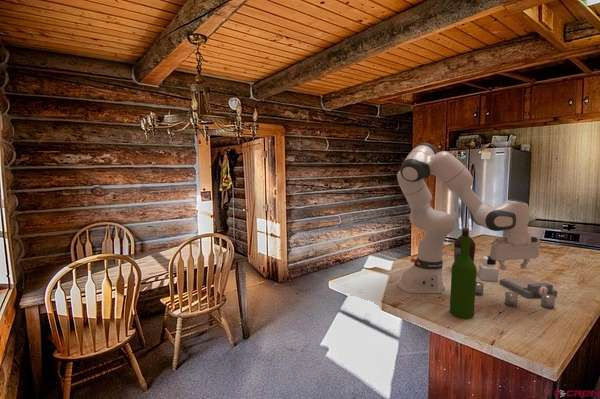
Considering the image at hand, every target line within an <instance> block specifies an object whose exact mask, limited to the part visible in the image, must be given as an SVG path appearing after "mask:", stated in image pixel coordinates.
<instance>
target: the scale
mask: <svg viewBox="0 0 600 399" xmlns="http://www.w3.org/2000/svg"><path fill="white" fill-rule="evenodd" d="M499 285H500V286H502V287H504V288H506V289H508V290H511V292H512V291H513V293H516V294H517V295H520V296H521V297H524V298H526V299H539V298H542V294H551V295H553V296H555V297H557V296H558V290H555V289H554V287H553V286H554V285H553V284H551V283H549V282H539V283H536V284H528V289H521V288H519V287H517V286H515V285H512V284H510V283H508V282H506V281H504V280H503V278H502V279H499Z"/></svg>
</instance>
